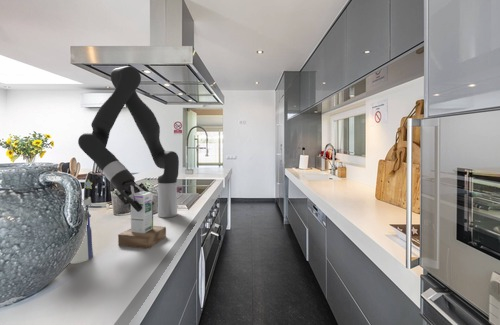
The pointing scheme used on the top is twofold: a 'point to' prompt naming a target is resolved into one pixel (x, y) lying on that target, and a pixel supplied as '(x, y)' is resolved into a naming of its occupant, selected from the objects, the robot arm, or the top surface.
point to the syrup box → (142, 213)
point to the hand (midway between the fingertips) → (146, 207)
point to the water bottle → (86, 247)
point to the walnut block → (142, 237)
